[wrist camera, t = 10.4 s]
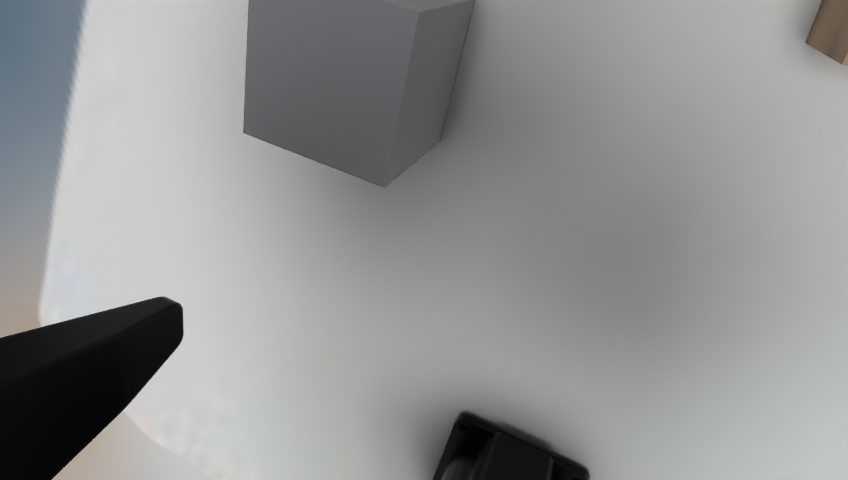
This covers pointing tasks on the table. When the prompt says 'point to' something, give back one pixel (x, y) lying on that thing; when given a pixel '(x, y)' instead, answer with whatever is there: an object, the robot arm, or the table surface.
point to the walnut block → (831, 30)
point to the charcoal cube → (353, 79)
